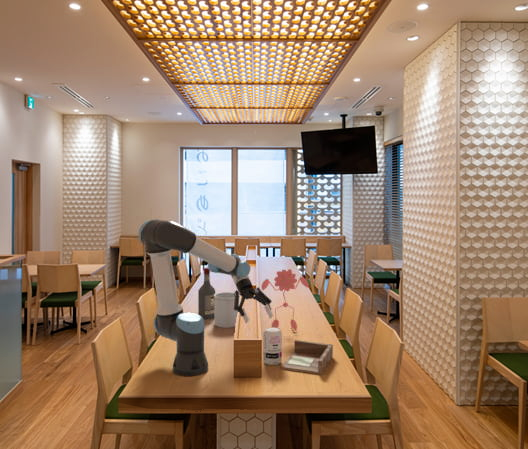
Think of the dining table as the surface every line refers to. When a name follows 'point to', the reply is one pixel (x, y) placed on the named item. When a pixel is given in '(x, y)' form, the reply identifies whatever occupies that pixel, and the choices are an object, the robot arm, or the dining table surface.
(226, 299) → the utensil holder
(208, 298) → the liquor
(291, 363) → the corner tray
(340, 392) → the dining table surface
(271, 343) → the supplement can
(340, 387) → the dining table surface
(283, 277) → the pink flat figure
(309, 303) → the dining table surface
